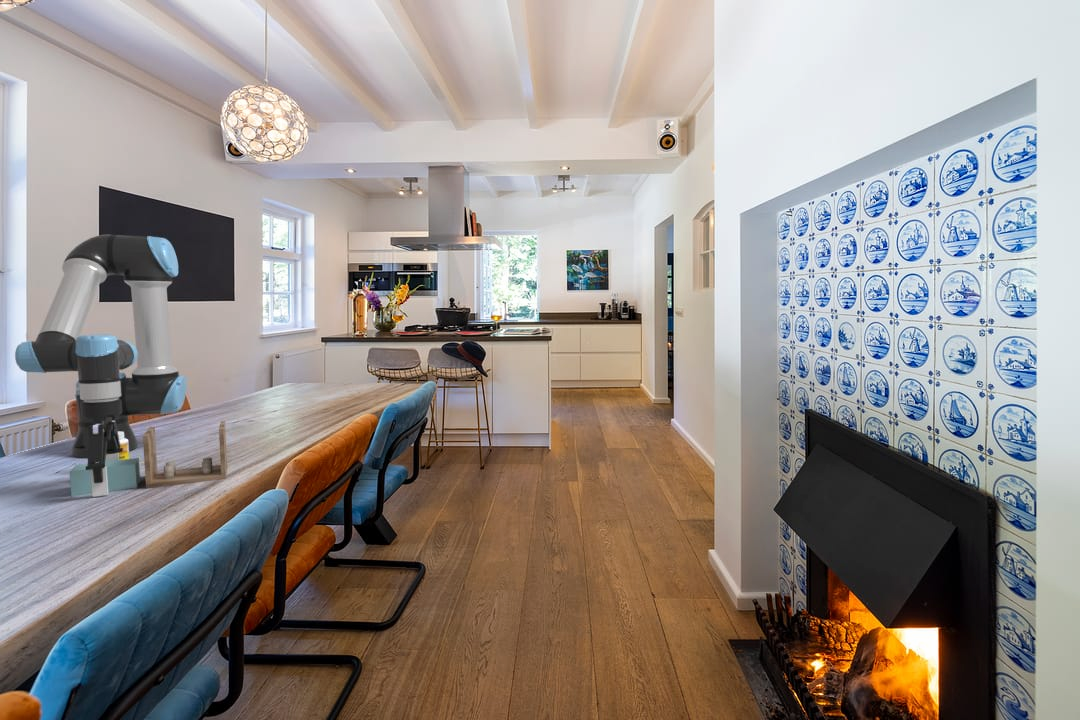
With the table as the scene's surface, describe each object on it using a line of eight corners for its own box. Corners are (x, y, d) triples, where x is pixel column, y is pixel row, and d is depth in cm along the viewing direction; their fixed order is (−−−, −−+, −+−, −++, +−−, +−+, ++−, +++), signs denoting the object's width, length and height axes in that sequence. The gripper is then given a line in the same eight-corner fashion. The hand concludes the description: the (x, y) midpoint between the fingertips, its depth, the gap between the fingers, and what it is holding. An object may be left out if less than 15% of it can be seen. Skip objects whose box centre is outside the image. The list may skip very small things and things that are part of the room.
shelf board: (77, 489, 124) (76, 464, 124) (140, 481, 130) (138, 457, 130) (71, 496, 119) (69, 471, 119) (136, 488, 125) (135, 464, 125)
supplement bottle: (101, 474, 134) (99, 436, 133) (105, 469, 139) (102, 432, 138) (129, 471, 137) (126, 433, 136) (131, 466, 142) (128, 429, 141)
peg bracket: (153, 476, 133) (149, 427, 132) (227, 467, 141) (225, 421, 140) (146, 488, 124) (142, 435, 123) (225, 478, 132) (223, 428, 131)
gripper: (94, 393, 131) (100, 475, 133) (64, 409, 110) (71, 506, 112) (131, 391, 135) (136, 470, 137) (109, 406, 114) (115, 500, 116)
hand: (107, 487), depth 125 cm, fingers open, 12 cm apart
